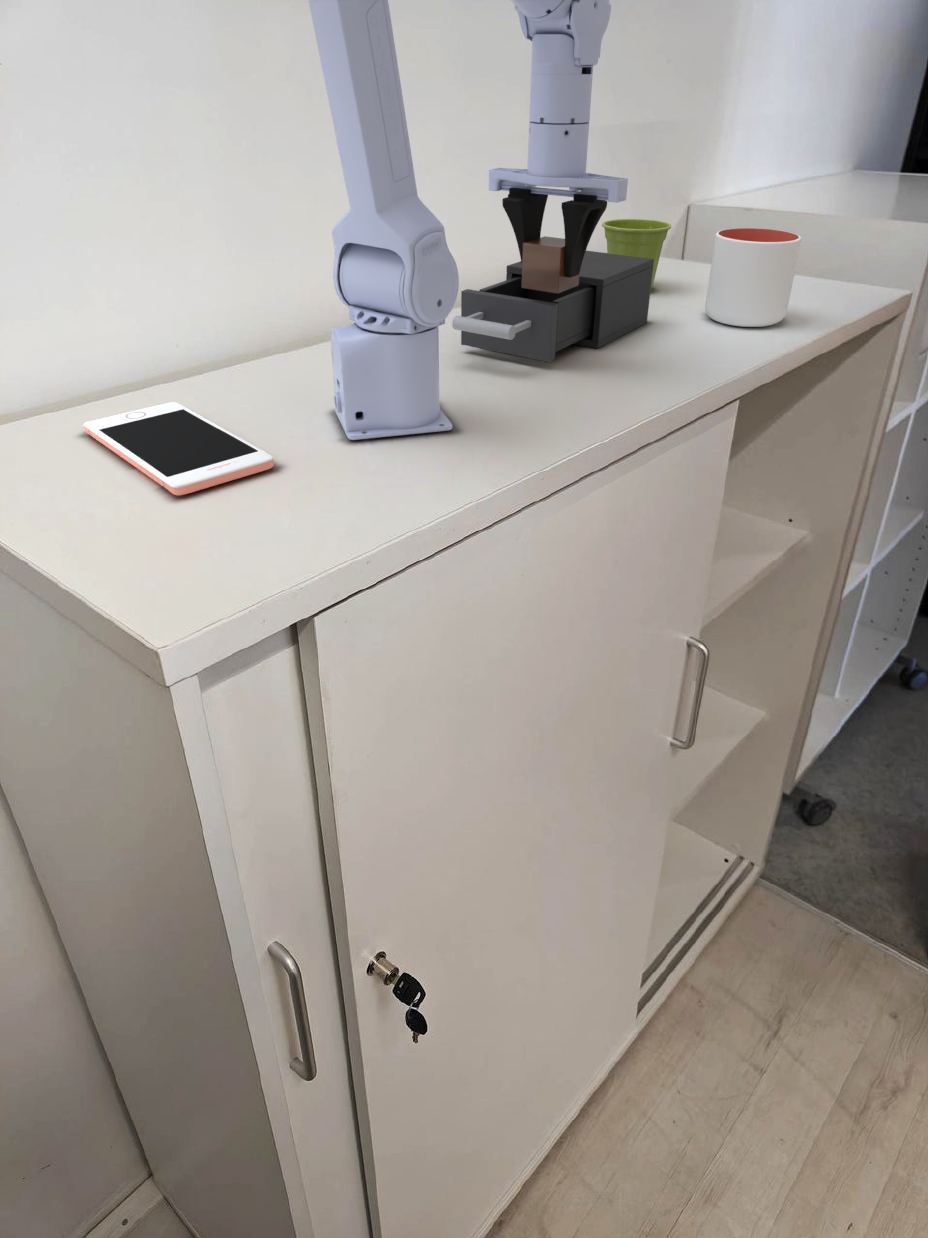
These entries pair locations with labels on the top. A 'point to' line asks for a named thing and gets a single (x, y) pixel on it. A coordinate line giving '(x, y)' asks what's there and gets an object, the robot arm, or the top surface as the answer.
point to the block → (545, 266)
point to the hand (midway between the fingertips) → (551, 272)
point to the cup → (751, 276)
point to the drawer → (525, 318)
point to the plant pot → (636, 238)
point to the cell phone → (178, 447)
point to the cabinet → (612, 293)
